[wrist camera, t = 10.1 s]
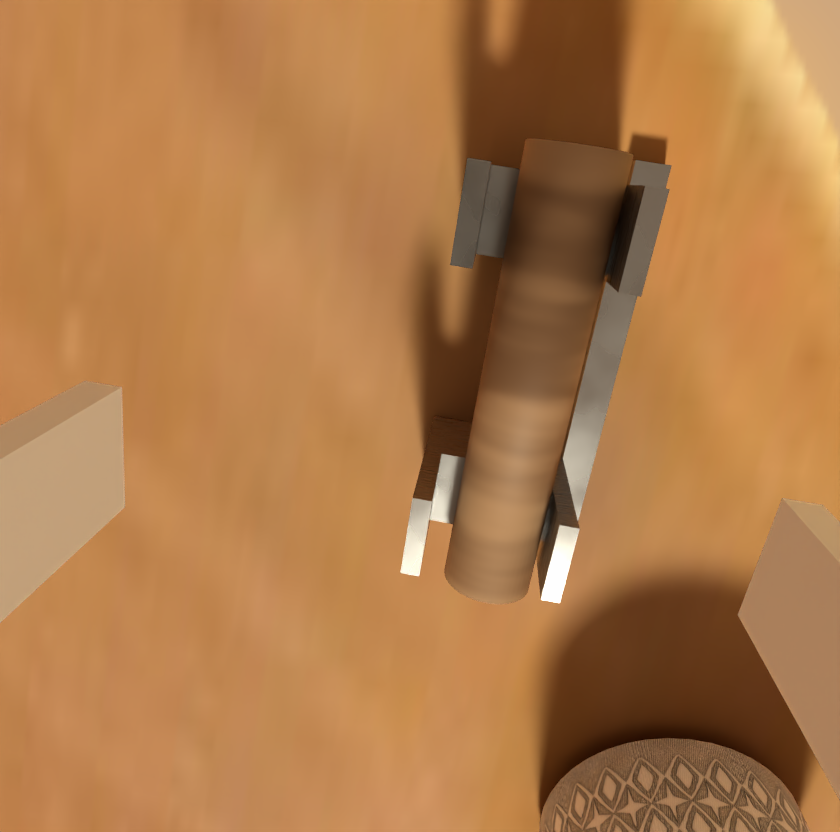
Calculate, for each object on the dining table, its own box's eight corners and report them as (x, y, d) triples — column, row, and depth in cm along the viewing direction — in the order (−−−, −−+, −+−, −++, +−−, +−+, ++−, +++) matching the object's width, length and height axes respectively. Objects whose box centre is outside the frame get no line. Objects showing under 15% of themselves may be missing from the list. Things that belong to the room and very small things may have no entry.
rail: (538, 144, 27) (514, 134, 23) (638, 158, 26) (628, 150, 22) (460, 545, 34) (432, 584, 30) (536, 571, 32) (517, 615, 29)
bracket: (480, 137, 31) (473, 119, 22) (665, 165, 31) (738, 159, 22) (421, 493, 38) (396, 596, 29) (572, 521, 37) (598, 635, 28)
